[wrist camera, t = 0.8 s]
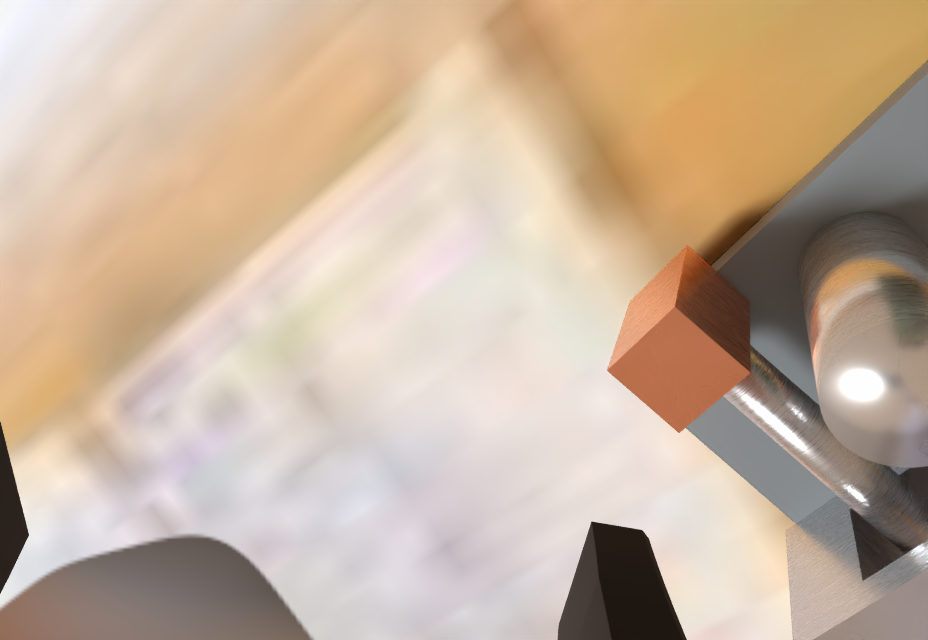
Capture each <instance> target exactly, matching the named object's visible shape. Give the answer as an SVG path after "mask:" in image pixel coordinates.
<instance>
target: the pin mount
mask: <svg viewBox="0 0 928 640" xmlns="http://www.w3.org/2000/svg"><path fill="white" fill-rule="evenodd" d="M889 467H890V468H892V469H893V470H894V471H895V472H896V473H897V474H898V475H900V476H901V477H902V478H903V479H904V480H905V481H906V482H908V483H909V484H910V485H911V486H912V487H913V488H914V489H916V490H917V491H918V492H919V493H920V494H921V495H922V496H924V497H925V498H926V499H927V500H928V466H924V467H915V468H902V467H892V466H889ZM786 545H787V559H788V574H789V589H790V604H791V619H792V633H793V640H928V540H927V541H925V542H924V543H922V544H921V545H919V546H917V547H916V548H914V549H913V550H911V551H910V552H908V553H906V554H904V553H903V552H901V551H900V550H899V549H898V548H897V547H896V546H895V545H893V544H892V543H891V542H890V541H889V540H888V539H887V538H885V537H884V536H883V535H882V534H881V533H880V532H879V531H877V530H876V529H875V528H874V527H873V526H872V525H870V524H869V523H868V522H867V521H866V520H865V519H864V518H862V517H861V516H860V515H859V514H858V513H857V512H856V511H854V510H853V509H852V508H851V507H850V506H849V505H848V504H846V503H845V502H844V501H843V500H842V499H841V498H839V497H838V496H837V495H836V496H835V497H833V498H832V499H831V500H829V501H828V502H826V503H825V504H823V505H822V506H821V507H819V508H818V509H816V510H815V511H814V512H812V513H811V514H809V515H808V516H806V517H805V518H804V519H802V520H801V521H799V522H798V523H796V524H795V525H794V526H792V527H791V528H789V529H788V530H787V531H786Z"/></svg>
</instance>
